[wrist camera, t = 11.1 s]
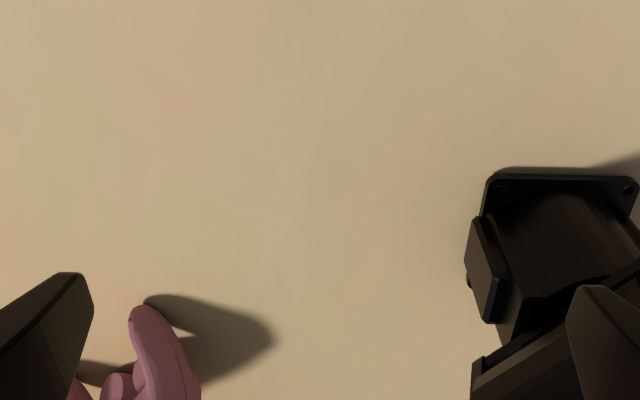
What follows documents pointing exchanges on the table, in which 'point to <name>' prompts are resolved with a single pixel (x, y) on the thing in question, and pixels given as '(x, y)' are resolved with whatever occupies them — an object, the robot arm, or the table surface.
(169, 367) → the video game controller
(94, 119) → the table surface
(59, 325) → the robot arm
